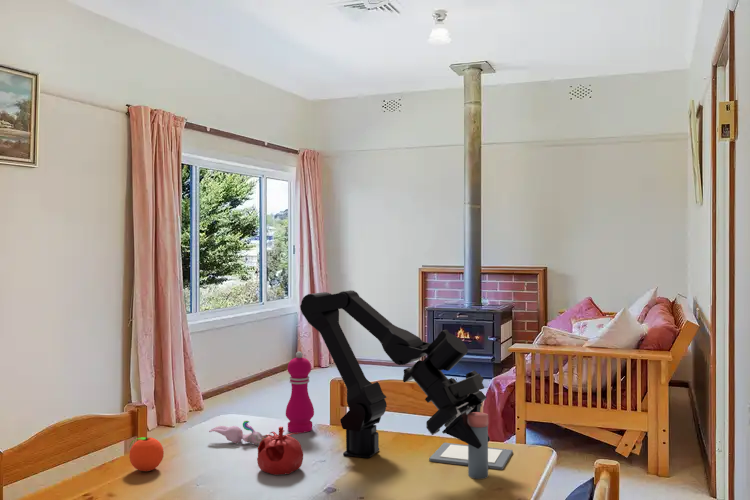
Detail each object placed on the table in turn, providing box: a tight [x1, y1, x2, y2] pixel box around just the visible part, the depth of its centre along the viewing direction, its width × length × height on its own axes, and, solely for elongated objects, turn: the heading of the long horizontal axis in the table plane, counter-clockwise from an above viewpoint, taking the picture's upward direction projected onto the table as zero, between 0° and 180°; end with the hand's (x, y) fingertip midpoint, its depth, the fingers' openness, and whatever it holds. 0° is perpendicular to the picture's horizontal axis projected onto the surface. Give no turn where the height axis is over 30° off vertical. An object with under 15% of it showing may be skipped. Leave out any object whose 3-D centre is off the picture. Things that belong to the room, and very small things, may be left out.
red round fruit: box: [256, 426, 304, 476], centre depth 143 cm, size 10×10×9 cm
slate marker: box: [467, 411, 489, 480], centre depth 139 cm, size 4×4×12 cm
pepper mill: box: [285, 351, 315, 434], centre depth 173 cm, size 7×7×20 cm
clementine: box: [129, 436, 164, 472], centre depth 144 cm, size 8×7×7 cm
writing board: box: [428, 442, 513, 471], centre depth 151 cm, size 16×12×1 cm
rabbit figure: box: [208, 420, 268, 447], centre depth 162 cm, size 6×6×15 cm
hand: (484, 444), depth 138 cm, fingers closed on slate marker, 4 cm apart
